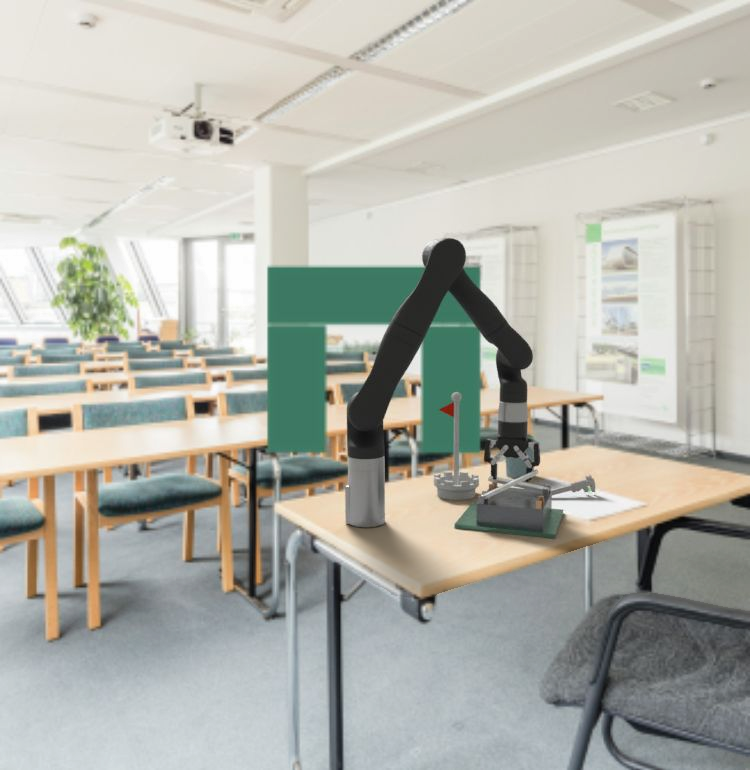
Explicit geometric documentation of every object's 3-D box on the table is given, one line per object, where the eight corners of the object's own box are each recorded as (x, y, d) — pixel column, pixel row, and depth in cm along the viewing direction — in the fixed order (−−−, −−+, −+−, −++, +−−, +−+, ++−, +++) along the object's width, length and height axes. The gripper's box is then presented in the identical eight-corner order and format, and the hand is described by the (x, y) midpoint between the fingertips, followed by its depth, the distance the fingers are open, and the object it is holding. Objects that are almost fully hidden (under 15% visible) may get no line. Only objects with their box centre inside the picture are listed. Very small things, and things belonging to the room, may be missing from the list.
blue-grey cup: (533, 472, 222) (534, 436, 221) (538, 480, 212) (538, 442, 211) (502, 472, 223) (502, 436, 222) (505, 479, 213) (505, 442, 212)
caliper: (593, 495, 195) (593, 474, 195) (595, 496, 194) (595, 474, 194) (526, 499, 192) (527, 478, 191) (528, 500, 190) (528, 478, 190)
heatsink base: (454, 527, 166) (454, 496, 166) (473, 504, 186) (473, 477, 185) (555, 538, 158) (555, 506, 157) (563, 513, 177) (564, 484, 177)
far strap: (549, 491, 176) (549, 487, 175) (548, 494, 173) (548, 489, 173) (489, 479, 181) (490, 475, 181) (487, 481, 178) (488, 477, 178)
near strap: (481, 502, 167) (478, 497, 167) (483, 499, 170) (481, 494, 170) (537, 475, 161) (535, 470, 162) (539, 472, 164) (536, 468, 164)
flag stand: (477, 489, 203) (478, 389, 199) (480, 501, 190) (480, 394, 186) (433, 488, 204) (433, 389, 201) (433, 500, 191) (433, 394, 188)
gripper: (482, 419, 175) (481, 480, 176) (539, 422, 170) (537, 485, 171) (488, 415, 182) (487, 474, 183) (542, 418, 177) (541, 478, 178)
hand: (511, 479), depth 177 cm, fingers open, 8 cm apart
